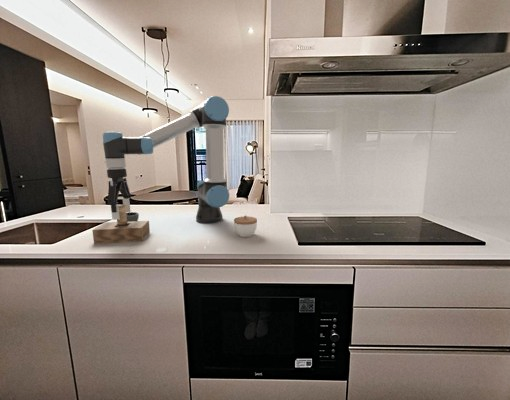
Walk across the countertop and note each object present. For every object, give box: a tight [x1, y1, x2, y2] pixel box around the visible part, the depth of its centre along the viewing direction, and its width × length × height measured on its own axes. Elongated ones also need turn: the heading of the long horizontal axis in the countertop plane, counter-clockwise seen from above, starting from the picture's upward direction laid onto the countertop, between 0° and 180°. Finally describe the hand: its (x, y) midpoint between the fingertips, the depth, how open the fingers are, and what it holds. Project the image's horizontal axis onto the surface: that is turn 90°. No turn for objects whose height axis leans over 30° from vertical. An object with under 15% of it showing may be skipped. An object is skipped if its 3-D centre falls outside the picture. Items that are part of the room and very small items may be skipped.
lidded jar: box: [233, 215, 258, 238], centre depth 118 cm, size 11×11×9 cm
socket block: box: [91, 220, 151, 244], centre depth 116 cm, size 20×12×6 cm, turn 98°
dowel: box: [116, 204, 127, 227], centre depth 116 cm, size 4×4×14 cm
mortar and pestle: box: [119, 203, 140, 222], centre depth 133 cm, size 11×9×12 cm
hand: (122, 215), depth 115 cm, fingers open, 13 cm apart
